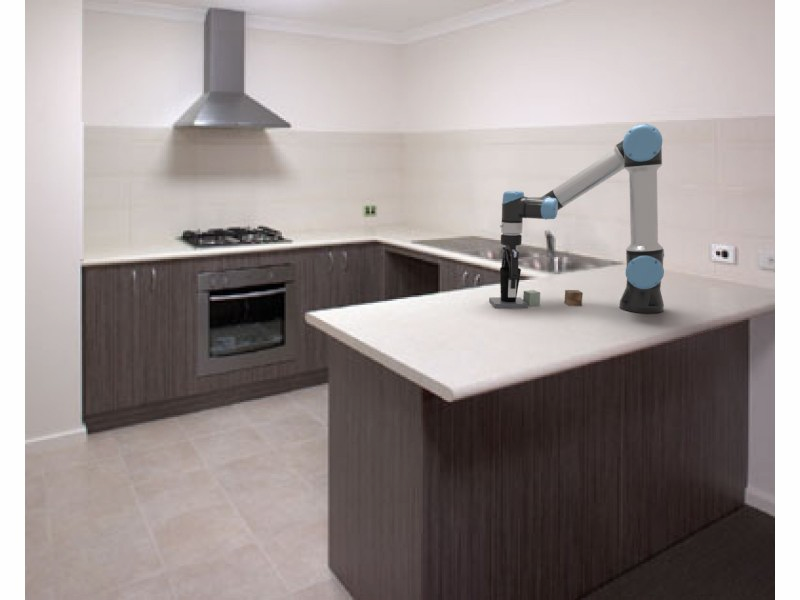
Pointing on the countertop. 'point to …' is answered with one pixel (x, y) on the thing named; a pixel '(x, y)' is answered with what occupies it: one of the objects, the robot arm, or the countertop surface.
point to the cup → (505, 282)
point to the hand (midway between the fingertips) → (508, 294)
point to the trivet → (508, 303)
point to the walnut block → (573, 297)
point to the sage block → (532, 297)
